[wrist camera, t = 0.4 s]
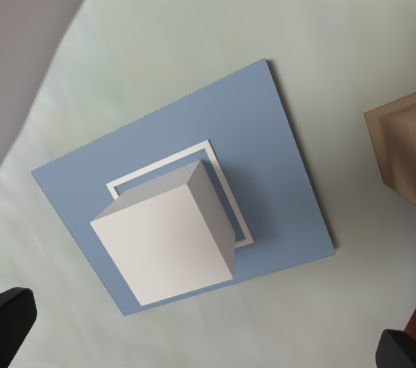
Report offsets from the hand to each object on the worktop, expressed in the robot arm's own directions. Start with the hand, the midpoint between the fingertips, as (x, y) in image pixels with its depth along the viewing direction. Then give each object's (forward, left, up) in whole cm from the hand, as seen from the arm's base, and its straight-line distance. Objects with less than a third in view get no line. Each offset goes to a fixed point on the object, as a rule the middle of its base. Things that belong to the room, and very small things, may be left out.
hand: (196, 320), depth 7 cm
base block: (-1, +4, -12) cm, 13 cm away
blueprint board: (-1, +4, -13) cm, 14 cm away
